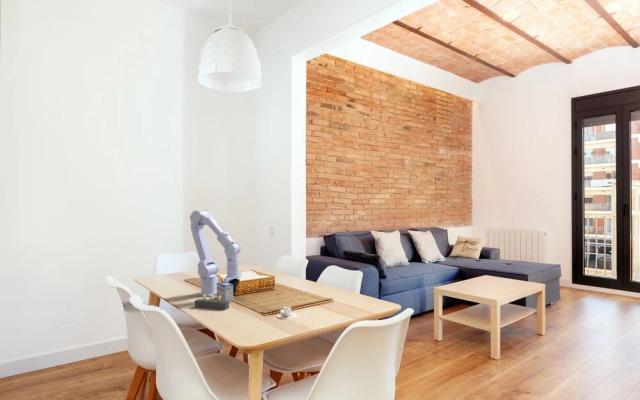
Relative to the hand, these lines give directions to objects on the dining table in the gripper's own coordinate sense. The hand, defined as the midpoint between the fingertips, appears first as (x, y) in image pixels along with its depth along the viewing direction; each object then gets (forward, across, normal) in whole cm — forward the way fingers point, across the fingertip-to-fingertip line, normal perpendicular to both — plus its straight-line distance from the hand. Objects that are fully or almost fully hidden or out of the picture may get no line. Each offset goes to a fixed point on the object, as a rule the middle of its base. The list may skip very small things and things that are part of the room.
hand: (233, 293), depth 195 cm
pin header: (+1, -20, 0) cm, 20 cm away
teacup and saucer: (+2, -19, -39) cm, 43 cm away
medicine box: (+2, -8, 0) cm, 8 cm away
